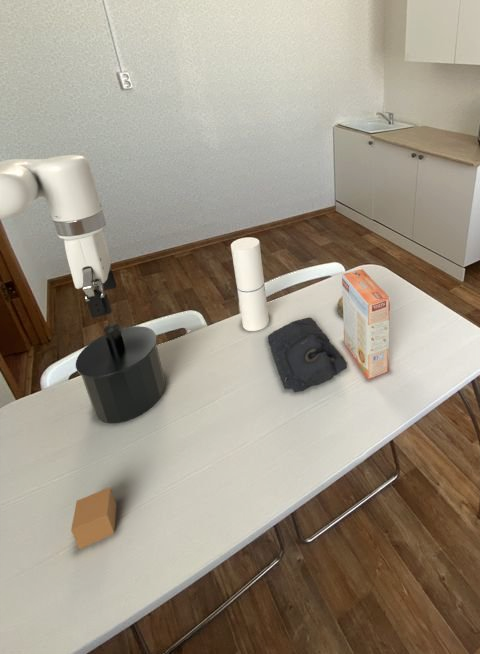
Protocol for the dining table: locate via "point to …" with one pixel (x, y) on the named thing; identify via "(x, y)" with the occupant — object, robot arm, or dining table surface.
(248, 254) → the cylindrical container
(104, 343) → the bin lid
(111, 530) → the cube
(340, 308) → the cake
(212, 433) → the dining table surface
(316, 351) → the black fabric pouch
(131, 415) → the trash can
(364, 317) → the cracker box
